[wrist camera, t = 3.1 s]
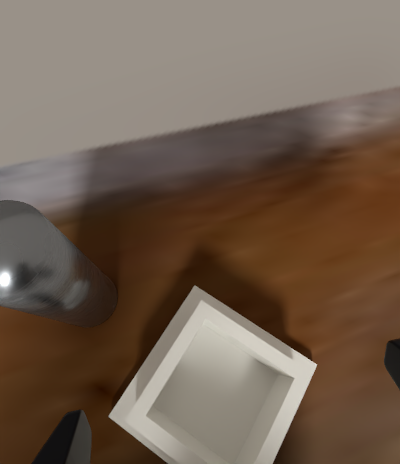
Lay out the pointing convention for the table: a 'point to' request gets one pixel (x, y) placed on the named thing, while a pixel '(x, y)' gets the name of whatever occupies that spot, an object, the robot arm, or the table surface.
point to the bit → (49, 271)
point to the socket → (214, 389)
